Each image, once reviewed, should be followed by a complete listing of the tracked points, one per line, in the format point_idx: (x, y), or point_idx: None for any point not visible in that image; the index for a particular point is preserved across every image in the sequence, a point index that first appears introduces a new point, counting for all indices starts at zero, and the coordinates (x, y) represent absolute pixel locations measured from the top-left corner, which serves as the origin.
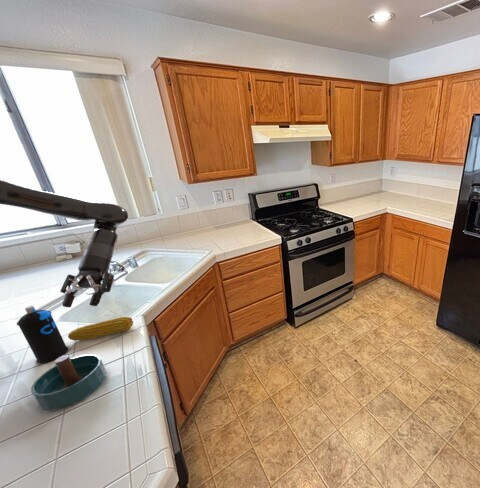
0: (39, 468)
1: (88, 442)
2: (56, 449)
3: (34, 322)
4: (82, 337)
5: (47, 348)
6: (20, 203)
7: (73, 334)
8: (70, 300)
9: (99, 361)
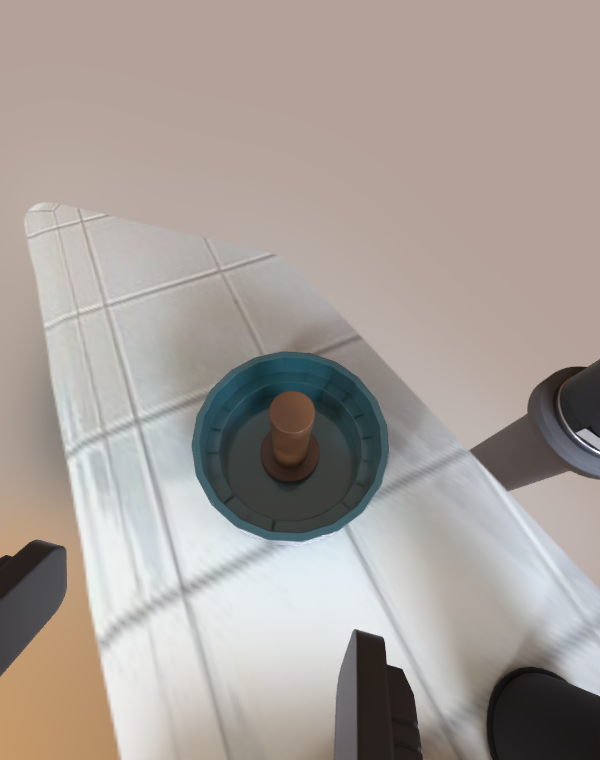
0: (242, 263)
1: (173, 284)
2: (232, 287)
3: None
4: None
5: (548, 704)
6: None
7: None
8: (341, 752)
9: (199, 467)
